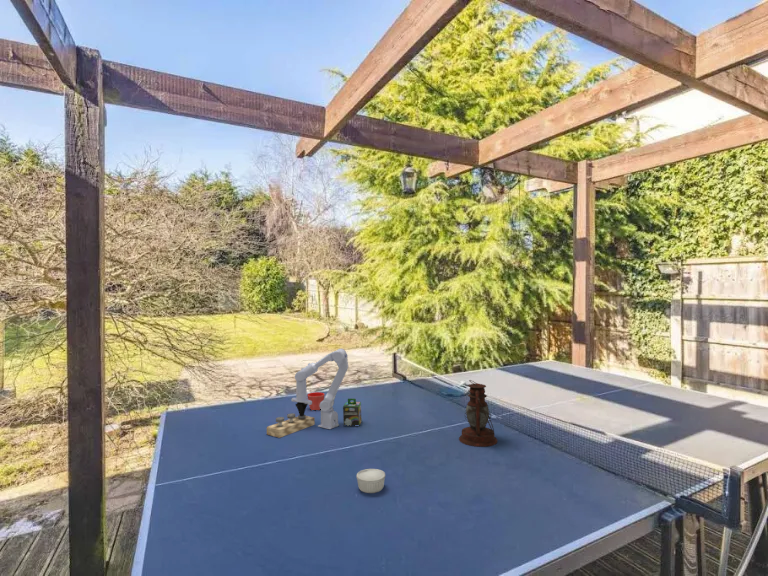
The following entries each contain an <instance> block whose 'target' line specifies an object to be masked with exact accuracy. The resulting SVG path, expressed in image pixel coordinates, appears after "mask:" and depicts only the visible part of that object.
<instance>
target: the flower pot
mask: <svg viewBox="0 0 768 576" xmlns="http://www.w3.org/2000/svg"><path fill="white" fill-rule="evenodd" d="M325 396H326V394H325V393H324V392H319V391H316V392H315V391H314V392H309V393H308V394H307V398H308V400H310V401H312V404H311V405H308V407H309V409H311V410H310V411H312V410H318V411H321V410H320V403H321V401H323V400H324V398H325Z"/></svg>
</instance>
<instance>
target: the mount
mask: <svg viewBox="0 0 768 576" xmlns="http://www.w3.org/2000/svg"><path fill="white" fill-rule="evenodd" d="M315 419H316V418H315V417H313V416H309V415H306V418H305V419H298V416H295V418H293V423H290V422H289V419H287V420H284V421H283V422H282V427H278V422H276V423H275V424H270V425H268V426H267V427H266V435H268V436H271V437H274V438H275V437H276V438H278V439H281V438H283V437H285V436H289V435H291V434H294V433H296V432H299V431H301V430H304V429H307V428H310V427H311V426H314V425H315V423H316V421H315Z"/></svg>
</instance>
